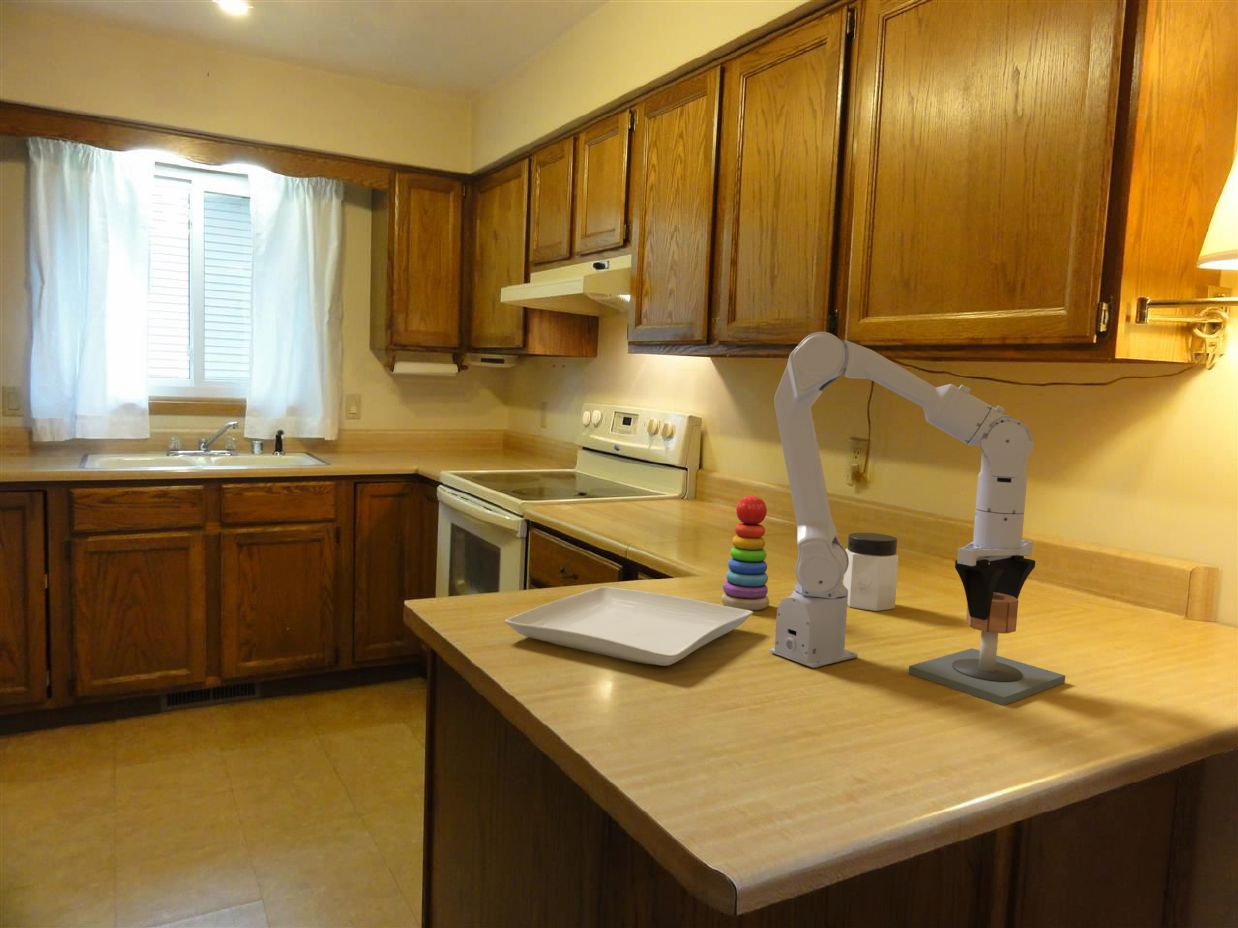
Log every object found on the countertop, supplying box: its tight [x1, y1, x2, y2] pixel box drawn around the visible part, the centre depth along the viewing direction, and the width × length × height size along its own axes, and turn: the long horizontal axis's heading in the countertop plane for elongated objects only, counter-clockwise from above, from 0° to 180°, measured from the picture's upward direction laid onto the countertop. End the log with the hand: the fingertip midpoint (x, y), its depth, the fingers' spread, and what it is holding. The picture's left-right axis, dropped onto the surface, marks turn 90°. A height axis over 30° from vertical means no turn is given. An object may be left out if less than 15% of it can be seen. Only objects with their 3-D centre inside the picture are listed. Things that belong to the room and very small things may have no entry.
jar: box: [843, 532, 899, 612], centre depth 146 cm, size 9×8×12 cm
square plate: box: [504, 585, 754, 667], centre depth 123 cm, size 27×27×4 cm
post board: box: [908, 630, 1066, 706], centre depth 110 cm, size 15×13×7 cm
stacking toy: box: [721, 495, 770, 612], centre depth 141 cm, size 8×8×19 cm
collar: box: [965, 592, 1019, 634], centre depth 109 cm, size 6×6×4 cm
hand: (991, 614), depth 109 cm, fingers closed on collar, 6 cm apart
